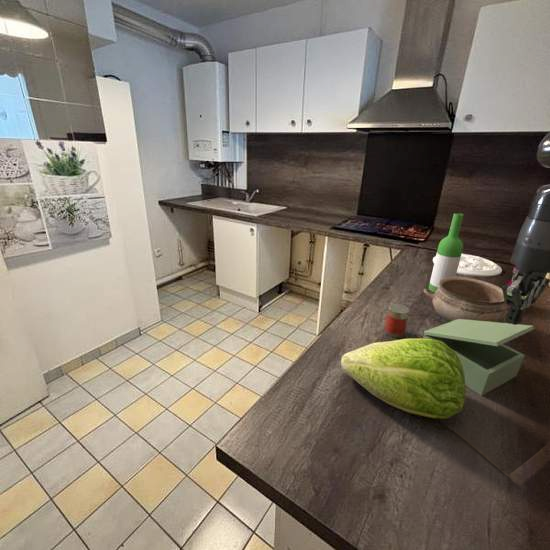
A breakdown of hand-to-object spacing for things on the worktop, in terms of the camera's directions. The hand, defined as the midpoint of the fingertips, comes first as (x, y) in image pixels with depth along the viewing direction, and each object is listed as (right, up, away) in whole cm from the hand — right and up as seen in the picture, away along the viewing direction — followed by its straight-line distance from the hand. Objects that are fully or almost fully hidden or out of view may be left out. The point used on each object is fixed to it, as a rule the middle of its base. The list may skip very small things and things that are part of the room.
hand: (512, 322), depth 61 cm
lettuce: (-23, -16, +4) cm, 29 cm away
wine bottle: (+13, +3, +51) cm, 52 cm away
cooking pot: (+9, -6, +30) cm, 32 cm away
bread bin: (-3, -13, +11) cm, 18 cm away
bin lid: (-3, -4, +7) cm, 9 cm away
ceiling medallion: (+41, +15, +78) cm, 89 cm away
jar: (-15, -8, +24) cm, 30 cm away
